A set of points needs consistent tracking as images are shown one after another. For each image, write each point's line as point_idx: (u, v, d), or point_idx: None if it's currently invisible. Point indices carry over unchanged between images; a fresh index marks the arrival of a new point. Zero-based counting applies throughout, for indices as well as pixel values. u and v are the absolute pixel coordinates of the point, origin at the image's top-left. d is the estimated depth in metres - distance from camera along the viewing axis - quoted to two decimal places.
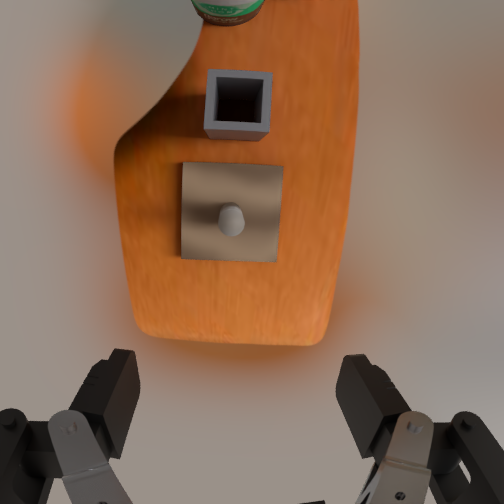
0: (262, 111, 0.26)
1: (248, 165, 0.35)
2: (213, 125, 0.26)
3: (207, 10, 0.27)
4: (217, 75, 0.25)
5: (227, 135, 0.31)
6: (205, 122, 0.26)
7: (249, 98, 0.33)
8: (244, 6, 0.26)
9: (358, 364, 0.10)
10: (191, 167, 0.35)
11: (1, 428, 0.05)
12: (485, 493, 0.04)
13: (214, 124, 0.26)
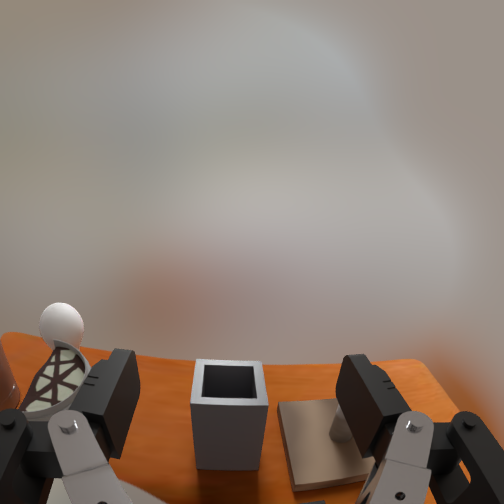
0: (240, 366, 0.26)
1: (285, 427, 0.29)
2: (262, 398, 0.22)
3: None
4: (199, 396, 0.22)
5: None
6: (260, 404, 0.21)
7: None
8: None
9: (358, 364, 0.10)
10: (300, 475, 0.22)
11: (1, 428, 0.05)
12: (485, 493, 0.04)
13: (260, 397, 0.22)
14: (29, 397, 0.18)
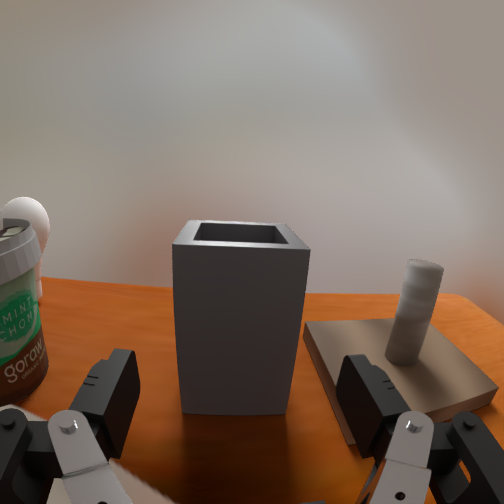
0: (255, 226, 0.18)
1: (320, 349, 0.21)
2: (298, 244, 0.14)
3: (4, 342, 0.12)
4: (189, 240, 0.14)
5: None
6: (296, 248, 0.13)
7: None
8: (34, 288, 0.16)
9: (358, 364, 0.10)
10: None
11: (1, 428, 0.05)
12: (485, 493, 0.04)
13: (295, 243, 0.14)
14: None
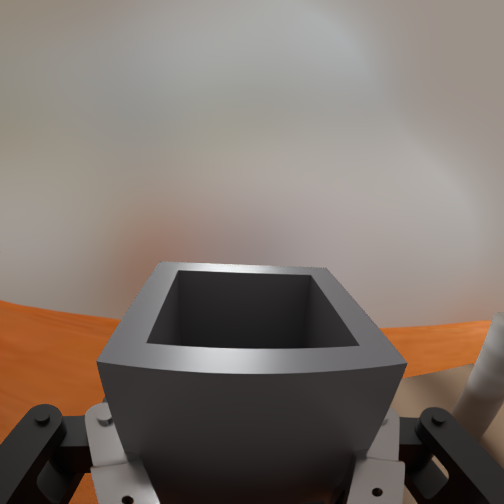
0: (276, 275, 0.10)
1: None
2: (375, 344, 0.06)
3: None
4: (139, 341, 0.06)
5: None
6: (379, 362, 0.05)
7: None
8: None
9: None
10: None
11: (34, 423, 0.05)
12: (466, 488, 0.04)
13: (369, 340, 0.06)
14: None
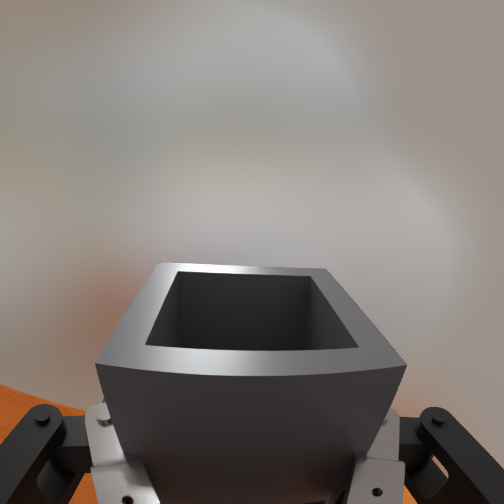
0: (275, 276, 0.10)
1: None
2: (375, 345, 0.06)
3: None
4: (138, 342, 0.06)
5: None
6: (378, 364, 0.05)
7: None
8: None
9: None
10: None
11: (34, 423, 0.05)
12: (466, 488, 0.04)
13: (368, 342, 0.06)
14: None
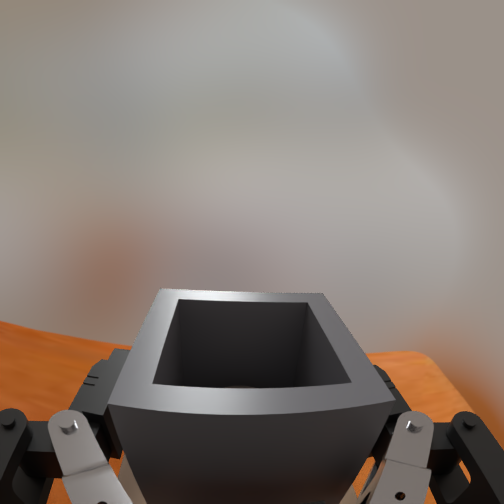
0: (273, 303, 0.10)
1: (124, 462, 0.12)
2: (367, 379, 0.06)
3: None
4: (146, 381, 0.06)
5: None
6: (369, 400, 0.06)
7: None
8: None
9: None
10: None
11: (1, 428, 0.05)
12: (485, 493, 0.04)
13: (361, 376, 0.06)
14: None
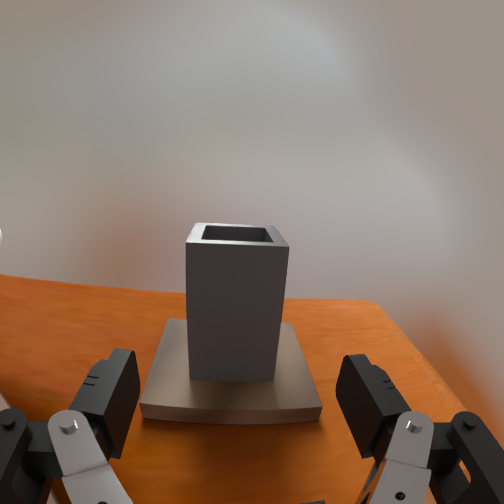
0: (249, 228, 0.23)
1: (161, 341, 0.25)
2: (280, 243, 0.19)
3: None
4: (198, 239, 0.18)
5: None
6: (278, 245, 0.18)
7: None
8: None
9: (358, 364, 0.10)
10: (151, 393, 0.18)
11: (1, 428, 0.05)
12: (485, 493, 0.04)
13: (278, 242, 0.19)
14: None
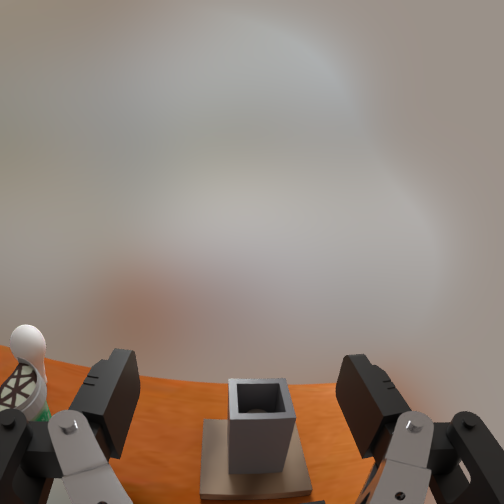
0: (267, 383, 0.30)
1: (203, 442, 0.31)
2: (290, 411, 0.25)
3: None
4: (236, 412, 0.25)
5: None
6: (289, 416, 0.25)
7: None
8: (46, 405, 0.27)
9: (358, 364, 0.10)
10: (206, 486, 0.25)
11: (1, 428, 0.05)
12: (485, 493, 0.04)
13: (289, 410, 0.26)
14: None
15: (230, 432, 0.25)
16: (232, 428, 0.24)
